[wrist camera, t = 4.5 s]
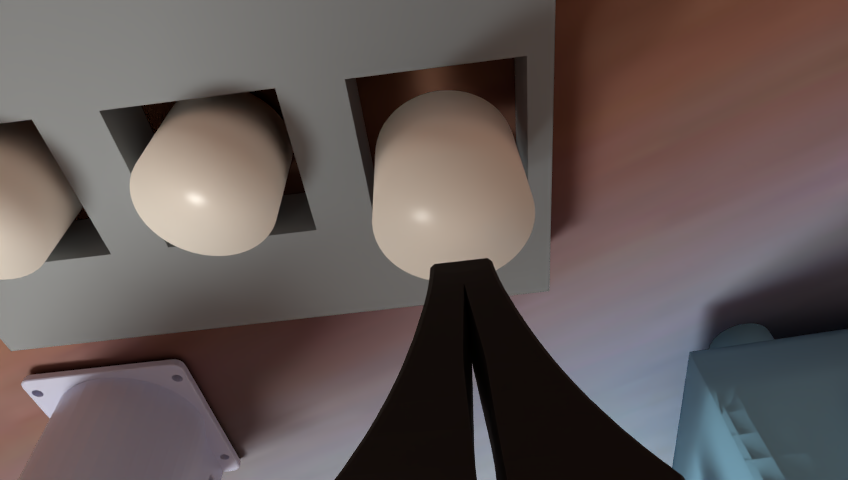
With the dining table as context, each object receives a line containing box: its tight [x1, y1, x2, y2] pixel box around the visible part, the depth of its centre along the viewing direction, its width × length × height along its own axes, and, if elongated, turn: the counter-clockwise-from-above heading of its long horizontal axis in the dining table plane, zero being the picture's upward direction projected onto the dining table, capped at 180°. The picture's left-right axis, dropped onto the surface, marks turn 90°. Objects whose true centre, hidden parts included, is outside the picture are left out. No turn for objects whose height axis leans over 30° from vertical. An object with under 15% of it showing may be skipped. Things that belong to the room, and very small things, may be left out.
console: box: [0, 0, 556, 351], centre depth 20 cm, size 14×22×2 cm, turn 97°
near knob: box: [372, 90, 535, 280], centre depth 17 cm, size 4×4×4 cm
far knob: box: [0, 119, 83, 280], centre depth 20 cm, size 4×4×4 cm
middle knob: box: [130, 92, 293, 256], centre depth 20 cm, size 4×4×4 cm
